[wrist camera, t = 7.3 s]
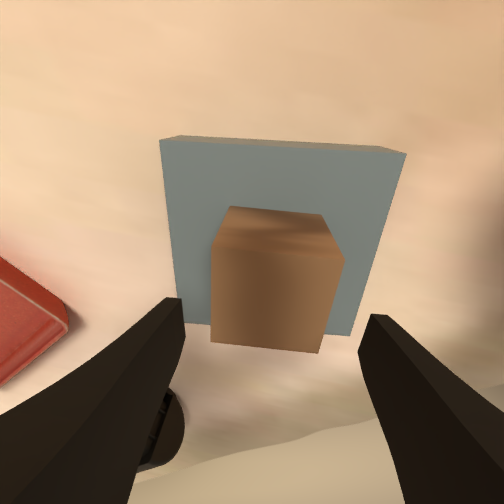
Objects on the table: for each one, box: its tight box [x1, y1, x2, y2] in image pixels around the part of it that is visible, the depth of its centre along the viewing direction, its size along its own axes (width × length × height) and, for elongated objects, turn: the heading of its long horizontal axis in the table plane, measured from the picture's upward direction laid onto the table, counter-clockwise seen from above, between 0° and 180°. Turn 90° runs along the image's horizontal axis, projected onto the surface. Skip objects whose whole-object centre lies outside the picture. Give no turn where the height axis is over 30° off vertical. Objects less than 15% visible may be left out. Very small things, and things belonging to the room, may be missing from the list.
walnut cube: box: [211, 206, 345, 354], centre depth 13 cm, size 5×5×5 cm
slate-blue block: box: [159, 135, 407, 336], centre depth 17 cm, size 12×12×4 cm
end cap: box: [137, 387, 185, 473], centre depth 26 cm, size 10×7×7 cm
